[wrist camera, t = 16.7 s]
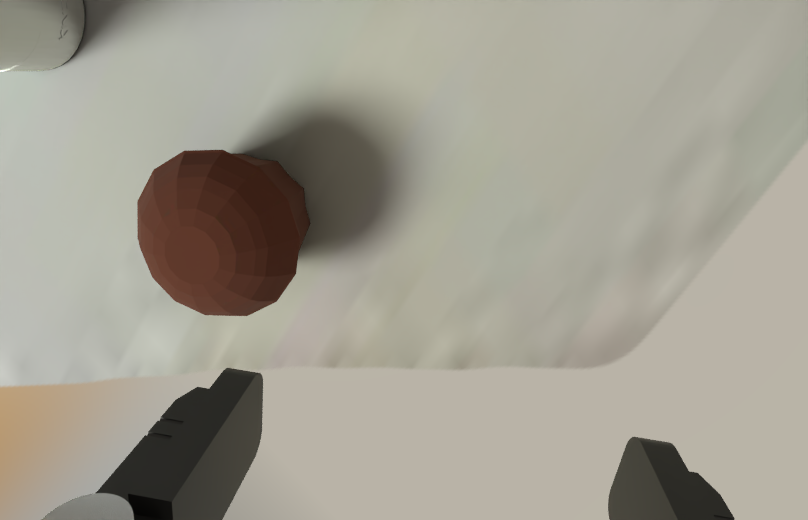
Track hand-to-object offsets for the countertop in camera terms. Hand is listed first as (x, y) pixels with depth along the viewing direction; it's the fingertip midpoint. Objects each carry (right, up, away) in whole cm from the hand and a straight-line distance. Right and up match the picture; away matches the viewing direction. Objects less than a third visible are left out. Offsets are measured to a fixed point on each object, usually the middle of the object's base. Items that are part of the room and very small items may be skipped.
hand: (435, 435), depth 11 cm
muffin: (-12, +8, +29) cm, 32 cm away
